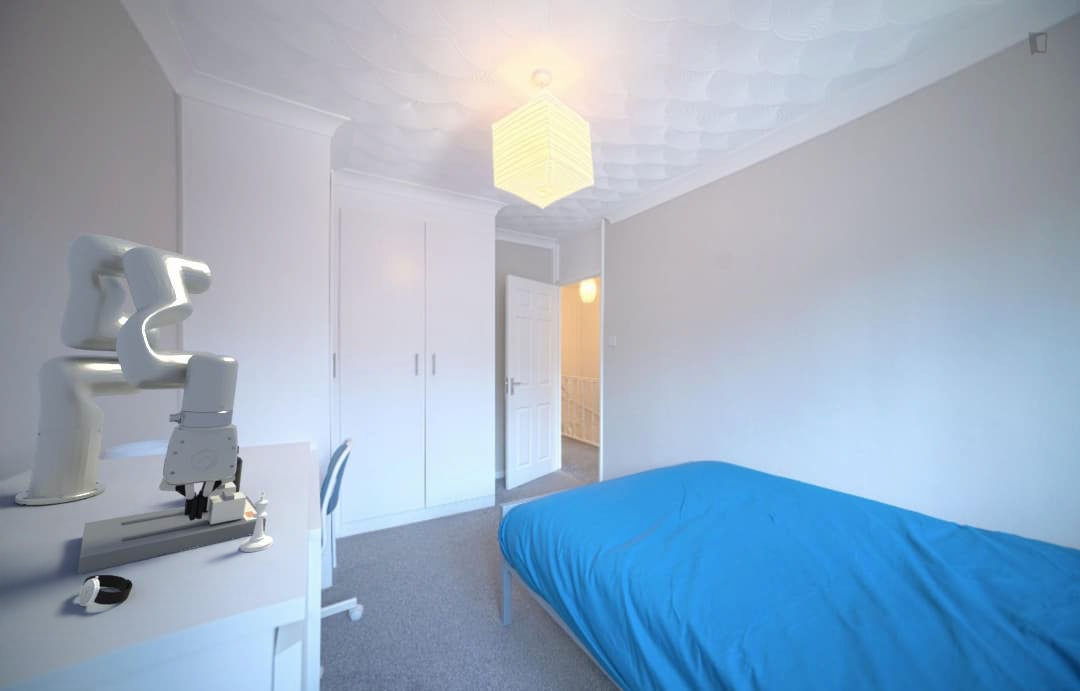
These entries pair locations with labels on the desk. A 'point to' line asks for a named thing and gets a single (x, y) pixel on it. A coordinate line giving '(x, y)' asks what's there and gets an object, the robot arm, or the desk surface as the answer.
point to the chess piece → (258, 530)
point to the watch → (95, 595)
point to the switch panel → (155, 536)
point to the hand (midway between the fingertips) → (194, 517)
